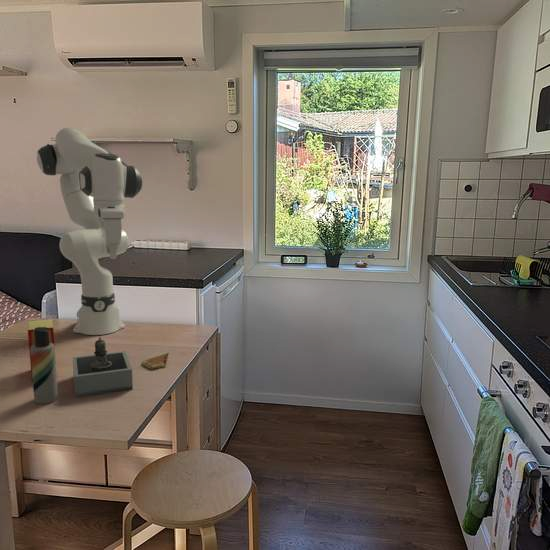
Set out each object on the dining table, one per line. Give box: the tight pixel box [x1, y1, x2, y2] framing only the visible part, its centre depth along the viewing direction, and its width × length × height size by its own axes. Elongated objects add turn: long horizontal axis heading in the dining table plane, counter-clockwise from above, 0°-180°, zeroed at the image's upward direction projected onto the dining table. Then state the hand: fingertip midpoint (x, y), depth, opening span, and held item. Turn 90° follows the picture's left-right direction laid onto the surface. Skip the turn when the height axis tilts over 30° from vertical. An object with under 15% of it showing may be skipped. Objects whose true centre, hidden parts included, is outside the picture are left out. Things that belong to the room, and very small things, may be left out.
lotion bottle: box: [29, 327, 59, 405], centre depth 128 cm, size 6×6×20 cm
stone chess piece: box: [91, 337, 112, 373], centre depth 142 cm, size 6×6×12 cm
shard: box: [140, 352, 169, 370], centre depth 157 cm, size 11×8×2 cm
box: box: [72, 350, 134, 398], centre depth 141 cm, size 15×15×6 cm
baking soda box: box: [27, 318, 57, 383], centre depth 144 cm, size 10×6×16 cm
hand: (111, 256), depth 147 cm, fingers open, 8 cm apart
